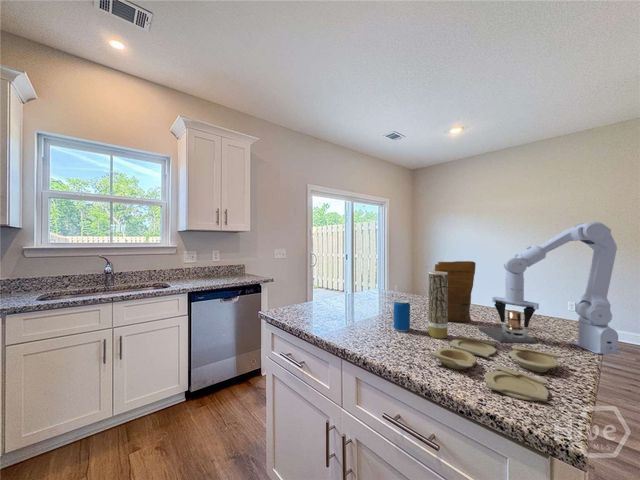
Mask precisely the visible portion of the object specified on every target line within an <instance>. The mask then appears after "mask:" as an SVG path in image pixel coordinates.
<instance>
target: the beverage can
mask: <svg viewBox="0 0 640 480" xmlns="http://www.w3.org/2000/svg"><path fill="white" fill-rule="evenodd" d="M393 328H394V329H395V331H397V332H400V333H401V332H402V333H405V332H406V333H407V332H408V331H410V329H411V303H410V301H409V300H406V299H395V300H394V303H393Z"/></svg>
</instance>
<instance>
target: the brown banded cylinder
mask: <svg viewBox="0 0 640 480" xmlns="http://www.w3.org/2000/svg"><path fill="white" fill-rule="evenodd" d="M507 324H508V328H510V329H515V330H521V327H522V312H520V311H519V310H507ZM508 333H509V334H511V332H509V331H508ZM514 335H521V333H514Z"/></svg>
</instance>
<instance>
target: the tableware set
mask: <svg viewBox="0 0 640 480" xmlns="http://www.w3.org/2000/svg"><path fill="white" fill-rule="evenodd" d="M495 345H496V340H495V341H494V340H489V339H479V338H478V339H477V338H472V337H466V336H462V335H456V338H455V339H452V341H451V342H450V343H449V346H450V347H441V348H437V349H436V350H434V352H433V351H429V352H427V355H428V356H431V357H434V358H436V360H439V361H441V362H442V364H443V365H444V366H446V367H447V368H450V369H455V370H466V369H467V368H472V367H474V365H476V363H478V362H477V358H476V357H475V356H477V357H478V356H480V357H484V358H489V357H490V356H494V355H495V354H496V353H497V349H496V348H495V347H494V346H495ZM511 348H512V349H513V350H510V351H509V352H508V354H509V356H510V358H511V359H513V360H514V361H516V362H517V363H518V365H519V366H520V367H521V368H523V369H526V370H528V371H533V372H538V373H547V371H549V369H554V368H557V367H558V366H559V361H558V360H557V359H562V355H561V354H558V353H552V352H547V351H543V350H536V349H530V348H527V347H524V346H521V345H511ZM555 358H556V359H555ZM494 368H495V369H496V370H493V371H489V372H487V373H486V374H485V375H484V380H485V388H487V389H490V390H493V391H496V392H499V393H501V394H503V395H506V396H507V397H511V398H515V399H518V400H519V399H520V400H524V401H530V402H531V401H534V402H537V401H542V402H548V398H549V395H550V393H549V390H548V389H547V387H546V386H547V384H548V382H547V381H546V380H543V379H540V378H537V377H534V376H532V375H529V374H526V373H524V372H520V371H518V370H514V369H511V368H510V367H506V366H503V365H500V364H495V365H494Z"/></svg>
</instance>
